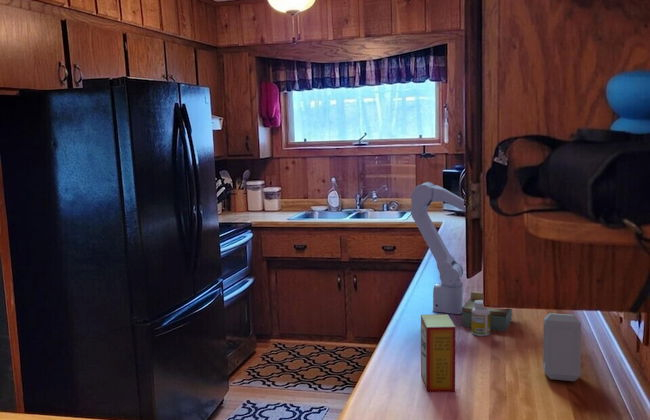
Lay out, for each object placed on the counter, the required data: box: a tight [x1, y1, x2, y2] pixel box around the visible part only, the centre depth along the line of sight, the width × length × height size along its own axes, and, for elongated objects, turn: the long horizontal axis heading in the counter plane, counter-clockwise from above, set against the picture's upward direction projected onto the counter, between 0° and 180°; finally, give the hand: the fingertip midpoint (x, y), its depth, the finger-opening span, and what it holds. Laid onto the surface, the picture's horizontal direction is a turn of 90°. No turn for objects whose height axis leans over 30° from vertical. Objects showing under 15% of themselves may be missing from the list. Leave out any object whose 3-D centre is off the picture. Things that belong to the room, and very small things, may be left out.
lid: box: [462, 290, 510, 316], centre depth 183 cm, size 13×11×4 cm
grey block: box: [542, 312, 582, 382], centre depth 152 cm, size 15×8×30 cm
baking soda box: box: [420, 313, 456, 393], centre depth 140 cm, size 10×6×16 cm
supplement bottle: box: [471, 300, 491, 337], centre depth 174 cm, size 5×5×10 cm
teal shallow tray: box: [461, 308, 513, 332], centre depth 183 cm, size 13×11×4 cm
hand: (496, 291), depth 191 cm, fingers closed
